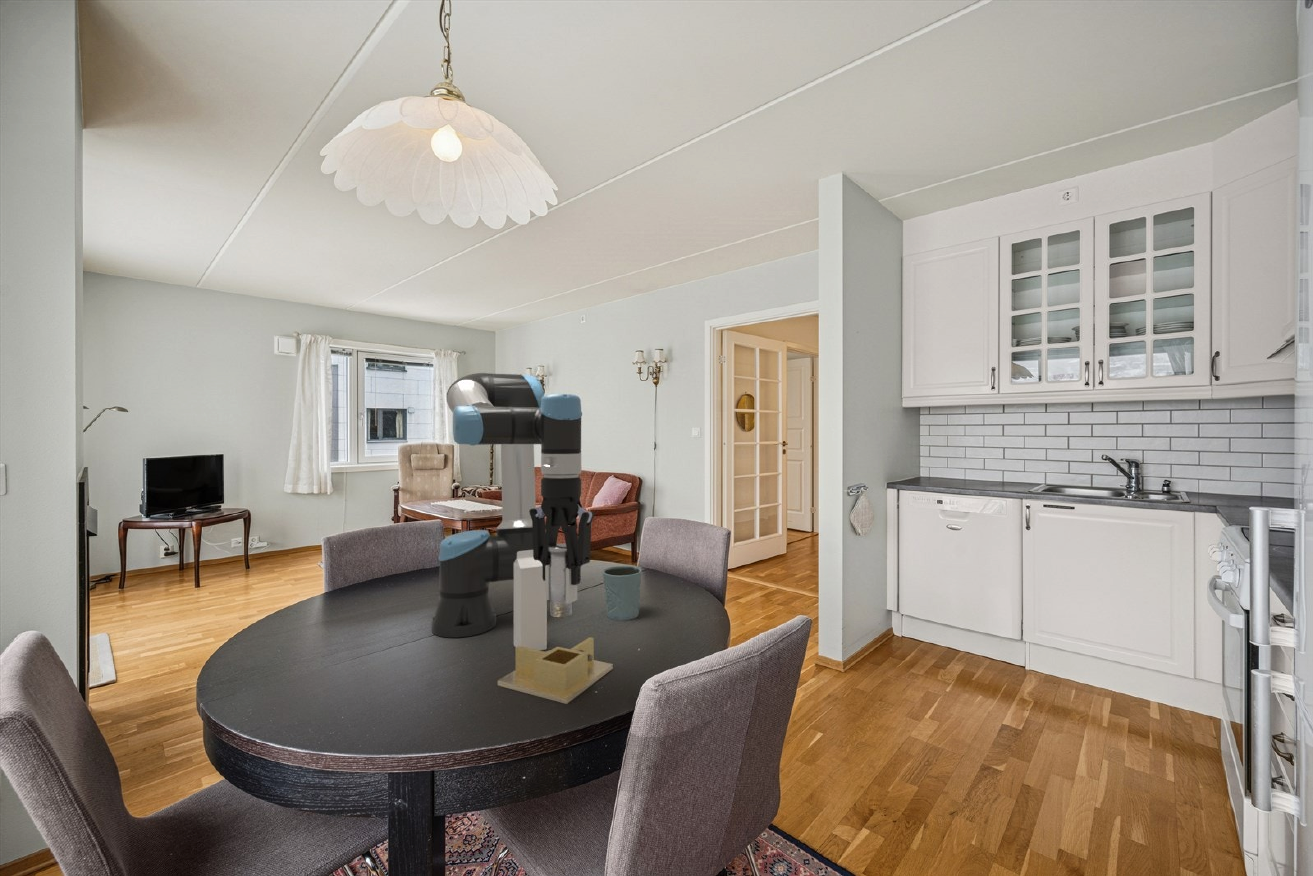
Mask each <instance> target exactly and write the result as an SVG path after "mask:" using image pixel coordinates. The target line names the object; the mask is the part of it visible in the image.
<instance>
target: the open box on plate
mask: <svg viewBox="0 0 1313 876" xmlns="http://www.w3.org/2000/svg"><path fill="white" fill-rule="evenodd" d="M594 641H595V639H594V637H588V638H586V639H585V640H583V641H581V642H579V643H578V644H576V645H575V646H572V648H565V647H562V646H556V647H554V648H552V649H551V650H550V649H549V650H547V651H544V650H535V649H530V648H526V647H521V646H518V647H516V648H515V669H514V670H513V671H512V672H510V673H507V674H506V675H505V676H503V677H501V678H499V679H498V680H497V686H498V687H501V688H505V689H510V690H513V691H516V692H520V693H524V694H529V695H530V696H531V695H532V696H535V697H539V698H542V699H547V700H550V701H554V702H558V703H561V704H565V705H568V704H570V702H572V701H573V700H574V699H576V698H577V697H578V696H580V695H581V694H582V693H584V691H586V690H587V689H589V688H590V687H592V685H594V684H596V683H597V681H599V680H601V678H603V677H604V676H606V675H607V674H609V672H610V671H612V670H613V663H609V662H604V661H599V660H595V659H594V658H595V657H594V656H595V654H594V653H595V652H594V651H595V650H594V648H595V647H594V646H595V645H594V643H595V642H594Z"/></svg>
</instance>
